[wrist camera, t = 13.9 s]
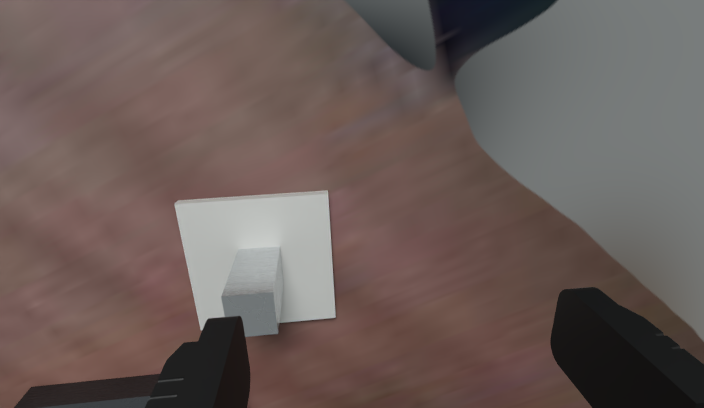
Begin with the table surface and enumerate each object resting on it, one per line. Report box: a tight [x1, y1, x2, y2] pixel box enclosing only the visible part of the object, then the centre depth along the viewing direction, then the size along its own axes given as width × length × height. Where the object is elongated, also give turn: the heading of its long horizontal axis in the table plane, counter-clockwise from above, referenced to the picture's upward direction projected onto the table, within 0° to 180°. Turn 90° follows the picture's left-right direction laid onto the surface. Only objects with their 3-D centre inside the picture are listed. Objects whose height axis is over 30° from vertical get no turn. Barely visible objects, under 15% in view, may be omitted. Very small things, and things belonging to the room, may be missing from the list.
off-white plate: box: [174, 190, 336, 330], centre depth 40 cm, size 14×14×1 cm
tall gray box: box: [221, 246, 284, 337], centre depth 35 cm, size 4×4×8 cm
